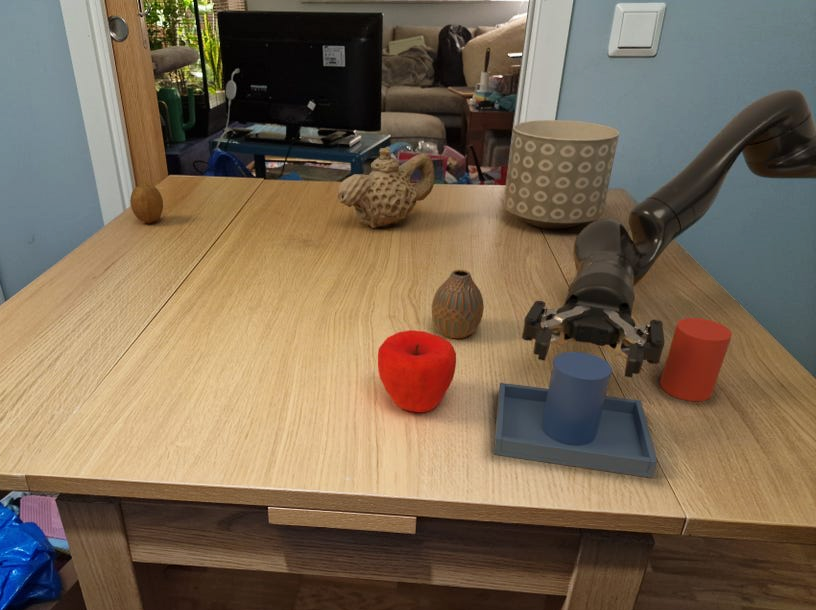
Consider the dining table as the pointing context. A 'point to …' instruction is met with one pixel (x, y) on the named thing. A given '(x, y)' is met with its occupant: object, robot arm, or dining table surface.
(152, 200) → the fruit
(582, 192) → the planter
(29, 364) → the dining table surface
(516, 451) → the blue tray
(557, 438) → the blue canister
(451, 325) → the vase
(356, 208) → the teapot
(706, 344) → the red canister
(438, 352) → the apple
